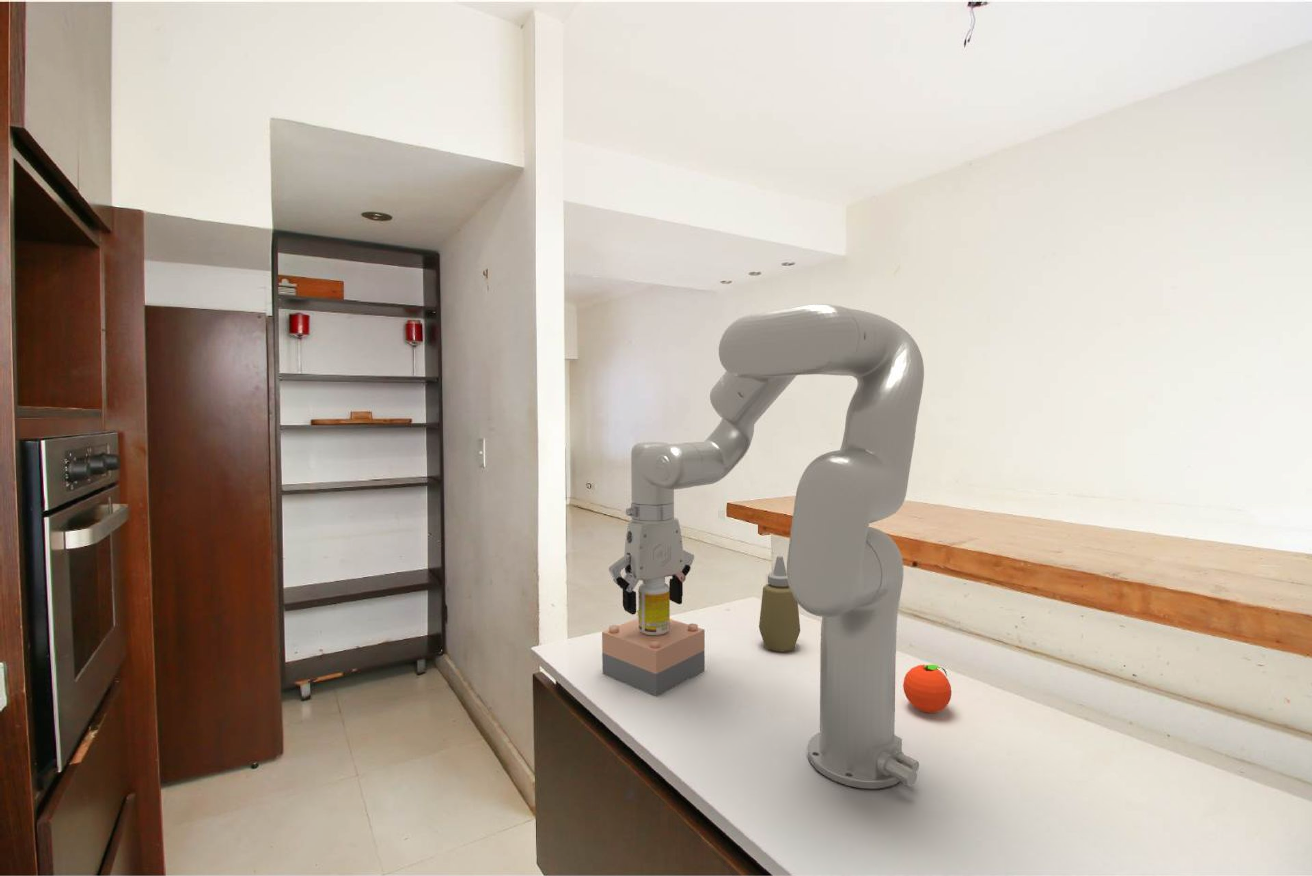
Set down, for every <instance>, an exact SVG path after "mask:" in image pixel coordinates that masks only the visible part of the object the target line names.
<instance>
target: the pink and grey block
mask: <svg viewBox="0 0 1312 876" xmlns="http://www.w3.org/2000/svg"><path fill="white" fill-rule="evenodd" d="M637 618H638V619H637ZM637 618H635V619H632V620H630V621H628V622H624V623H622V624H619V625H609V627H608V629H606V630H604V631H602V632H601V643H602V644H601V647H602V649H601V651H602V652H601V653H602V654H601V655H602V659H601V660H602V665H601V666H602V667H601V669H602V674H603V675H605V676H606V677H609V678H612V679H614V680H617V681H619V682H620V683H624V684H626V685H628V686H631V687H632V688H635V689H637V690H640V691H642V692H644V693H647V694H649V695H652V696H654V697H658V696H660V695H661V694H664V693H666V692H668V691H670V690H671V689H673V688H676V687H677V686H679V685H680V684H681V685H682V684H683V683H684V682H687V681H688V680H690V679H692V678H694V677H696V676H697V675H699V674H700V675H701V673H703V672H705V657H706V656H705V652H706V651H705V650H706V646H705V629H704V628H700V627H699V625H698V624H697V623H689V624H688V623H685V622H681V621H679V620H674V619H671V618H670V628H669V631H668V632H667V633H665V634H662V635H646V634H643V633H642V632H641V631H640V630H639V617H637Z"/></svg>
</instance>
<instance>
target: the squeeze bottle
mask: <svg viewBox="0 0 1312 876" xmlns="http://www.w3.org/2000/svg"><path fill="white" fill-rule="evenodd" d="M759 613H760V614H759V621H758V622H759V623H758V628H759V632H760V635H761V638H762V643H763V644H764V648H767V649H768V650H770V651H774V652H790V651H792V650H794V649H795V647H796V644H797V642H798V638H799V636H800V633H801V622H800V614H799V604H798V603H797V601H796V600H795V599H794V597H793V595H792V593H791V590H790V587H789V584H788V579H787V569H786V566H785V561H784V557H783V556H776V560H775V563H774V568H773V571H772V572H771V573H768V574H767V583H766V584H765V585H764V586H763V588H762V594H761V604H760V612H759Z"/></svg>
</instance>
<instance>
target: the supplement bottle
mask: <svg viewBox="0 0 1312 876" xmlns="http://www.w3.org/2000/svg"><path fill="white" fill-rule="evenodd" d="M670 602H671V600H670V599H669V584H667V583H666V577H662V578H657V579H652V580H646V581H642V583H641V584H639V586H638V609H639V617H638V618H639V630H640V631H641V632H642V633H643V634H646V635H662V634H665V633H667V632H668V631H669V628H670V619H671V618H670V617H671V616H670V610H671V609H670V607H671V606H670Z"/></svg>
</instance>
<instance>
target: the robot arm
mask: <svg viewBox="0 0 1312 876" xmlns="http://www.w3.org/2000/svg"><path fill="white" fill-rule="evenodd" d="M718 358H719V361H720V364H721V366H722V367H723V368H724V370H725V372H724V373H723V375H722V376H721V377H720V378H719V380H718V381H717V382H716V383H715V384H714V386H713V387H712V388H711V391H710V394H709V399H710V403H711V405H712V408H713V410H714V411H715V412H716V414H718V416H719V417H720V418H721V420H720V422H719V424H718V425H717V426H716V427H715V429H714V430H713V432H711V434H710V435H709V436H708V437H707V438H706V439H705V440H704V441H696V442H695V441H693V442H683V443H682V442H681V443H670V444H669V443H667V442H661V441H660V442H659V441H658V442H657V441H655V442H649V441H648V442H639V443H635V444H634V445H633V446H632V448H631V453H630V455H631V456H630V461H631V465H630V466H631V467H630V469H631V477H630V479H631V503H630V507H629V508H626V510H625V514H626V516H627V517H630V518H631V520H629V521H628V522H627V529H626V535H625V544H624V556H623V557H620V558H619V560H617V561H616V562H615V563H613V564H612V565H610V566H609V567H608V572H609V573H610V575H611V578H613V579H612V580H613V582H614V583H615V584H617V585H618V587H619V588H620V589H622V608H623V610H624V611H625V612H626V613H628V614H630V615H632V616H633V615H636V613H637V592H636V591H634V590H635V588H636V586H637V584H638V583H639V581H642V582H643V581H646V580H652V579H657V578H662V577H665V578H666V577H671V578H669V584H668V586H669V599H670V602H673V603H675V604H677V605H681V604H683V593H684V591H683V590H684V589H683V586H684V585H683V583H684V582H685V581H686V579H687V578H686V577H687V575H688V574H689V572H690V571H691V569H692V568H691V566H692V564H693V562H694V559H695V555H694V554H693V553H690V552H689V551H686V550H684V547H683V539H682V538H683V537H682V530H681V527H680V522H679V518H677V517H675V490H682V489H688V488H694V487H700V486H709V485H713V484H715V483H718V482H720V481H721V480H723V479H724V478H725V477H726V476H728V475H729V473H730V472H731V471H732V470H733V469H734V468H735V467H736V466H737V465H738V464H739V463H740V461H741V460H742V459H743V458H744V457H745V456H746V454H747V453H748V451H749V448H750V447H751V443H752V440H753V438H754V433H755V424H756V423H757V422H758V420H759V419H761V417H762V415H764V413H765V412H766V411H767V410H768V409H769V408H770V407H771V406H772V405H773V403H774V402H775V401H776V400H777V399H778V398H779V396H780V395H781V394H782V393H783V392H784V391H785V390H786V388H788V387H789V385H790V384H791V383H792V382H793V381H794V379H795V378H796V377H797V376H805V375H806V376H807V375H811V376H812V375H826V376H827V375H828V376H845V377H846V376H847V377H849V376H850V377H853V378H854V379H855V380H857V385H856V389H855V391H854V393H853V395H852V397H851V399H850V401H849V404H848V407H847V411H846V414H845V424H844V430H843V437H842V442H841V446H840V449H839V450H833V451H829V452H826V453H824V454H821V455H818V457H816V458H815V459H813V460H812V461H811V462H810V463H809V464H808V465H807V466H806V468H805V469H804V471H803V473H802V475H801V476H800V478H799V482H798V485H797V488H796V492H795V498H794V499H795V500H794V506H793V513H792V519H791V521H792V522H791V528H790V536H789V542H788V550H787V558H786V573H787V579H788V584H789V587H790V590H791V593H792V595H793V597H794V599H795V600H796V601H797V603H798V606H800V608H802V609H803V610H804V611H806V612H807V613H809V614H811V615H813V616H817V617H820V618H821V622H820V624H821V625H820V651H819V652H820V653H819V654H820V662H819V663H820V664H819V665H820V666H819V668H820V669H819V670H820V671H819V678H820V679H819V732H818V733H816V734H814V735H813V736H812V737H811V738H810V740H809V741H808V744H807V757H808V759H809V762H810V763H811V765H812V766H813V767H814V768H815V769H816V771H818V772H819V773H821V774H822V775H824V776H825V777H827V778H829V779H830V780H832V781H834V782H837V783H838V784H842V785H845V786H848V787H853V788H858V789H865V790H866V789H868V790H871V789H872V790H873V789H874V790H875V789H883V788H889V787H891V786H894V785H896V784H898V783H900V782H901V783H903V784H904V785H906V786H908V787H911V788H912V787H913V786H914V785H915V783H917V782H916V781H917V777H918V775H917V773H918V771H919V767H920V763H919V761H918V760H915V759H914V758H912V757H911V756H907V755H905V754H904V752H903V748H902V745H903V738H901V737H900V736H897V735H896V734H895V727H896V726H895V721H896V720H895V718H896V717H895V716H896V713H895V712H896V664H897V663H896V662H897V661H896V657H897V656H896V655H897V627H898V617H899V616H898V613H899V608H900V607H899V606H900V600H901V596H902V589H903V583H904V562H903V558H902V553H901V551H900V548H899V547H898V545H897V544H896V542H895V541H894V540H893V539H892V538H891V537H890V536H889V535H888V534H887V533H886V532H885V531H884V532H883V531H882V530H880V529H879V528H875V527H873V526H872V527H871V526H869V525H870V524H873V523H875V522H878V521H879V522H880V521H883V520H884V519H888V518H889V517H891V516H893V515H894V514H896V513H897V512H898V511H899V509H900V508H901V507H902V506H903V505H904V503H905V499H906V497H907V491H908V484H909V477H910V472H911V464H912V458H913V452H914V445H915V440H916V431H917V430H916V429H917V424H918V423H917V422H918V415H919V410H920V407H921V406H920V404H921V399H922V394H923V388H924V380H925V366H924V360H923V356H922V352H921V350H920V348H919V345H918V344H917V342H916V340H914V338H913V337H912V335H911V334H909V332H908V331H906V330H905V329H904V328H903V327H901V326H900V325H899V324H897V323H896V322H894V321H893V320H891V319H888V318H887V317H885V316H881V315H879V314H877V313H873V312H869V311H866V310H861V309H856V308H855V309H853V308H848V307H844V306H839V305H834V304H827V303H825V304H824V303H821V304H820V303H819V304H818V303H817V304H810V305H809V304H807V305H803V306H797V307H790V308H785V309H780V310H778V309H777V310H774V311H773V310H772V311H767V312H766V311H765V312H760V313H754V314H748V315H744V316H742V317H739V318H738V319H736V320H735V321H733V322H732V323H731V324H730V325H728V327H727V328H726V329H725V330H724V332H723V334H722V335H721V338H720V341H719V346H718ZM622 570H624V572H625V575H624V576H623V577H622V574H621V571H622Z"/></svg>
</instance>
